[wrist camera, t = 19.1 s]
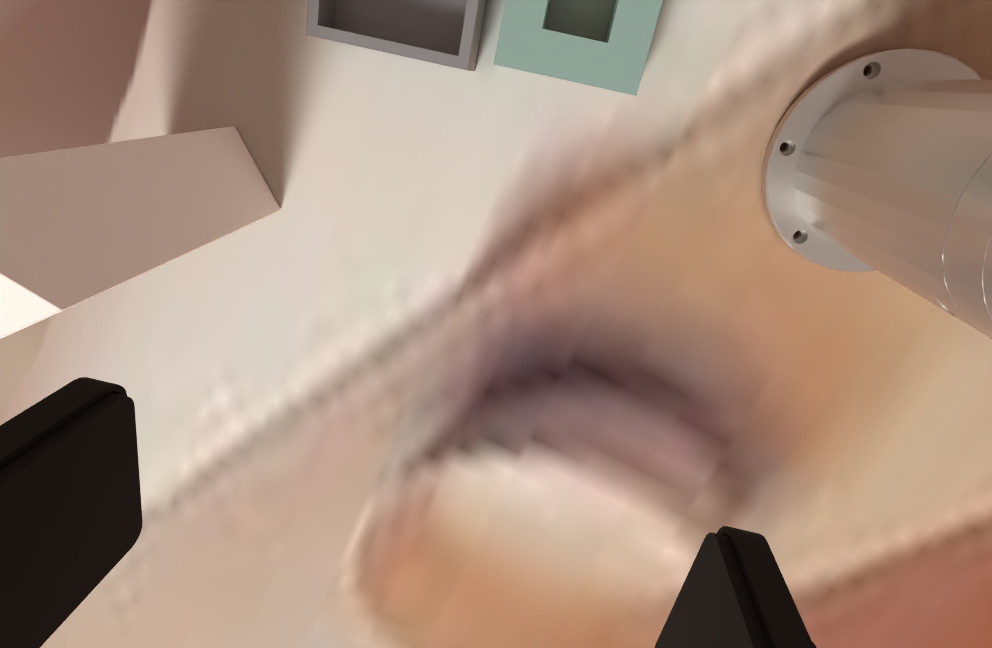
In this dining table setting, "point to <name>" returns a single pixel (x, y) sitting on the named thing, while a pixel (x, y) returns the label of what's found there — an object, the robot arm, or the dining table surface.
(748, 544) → the robot arm
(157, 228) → the milk
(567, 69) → the socket block
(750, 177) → the dining table surface
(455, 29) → the tray
